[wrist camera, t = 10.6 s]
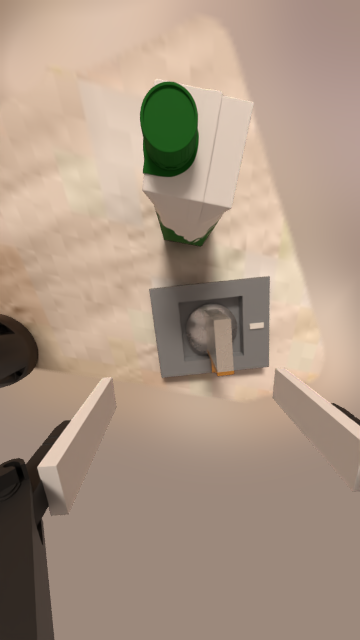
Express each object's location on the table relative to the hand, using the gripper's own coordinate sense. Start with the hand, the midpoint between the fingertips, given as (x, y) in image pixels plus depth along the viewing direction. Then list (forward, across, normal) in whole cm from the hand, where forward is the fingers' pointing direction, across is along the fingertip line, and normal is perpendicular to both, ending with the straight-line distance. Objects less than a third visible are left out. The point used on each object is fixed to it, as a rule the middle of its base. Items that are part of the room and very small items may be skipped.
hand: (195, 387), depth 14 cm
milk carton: (+22, +2, +19) cm, 29 cm away
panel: (+22, +6, -1) cm, 23 cm away
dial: (+22, +6, -1) cm, 23 cm away
